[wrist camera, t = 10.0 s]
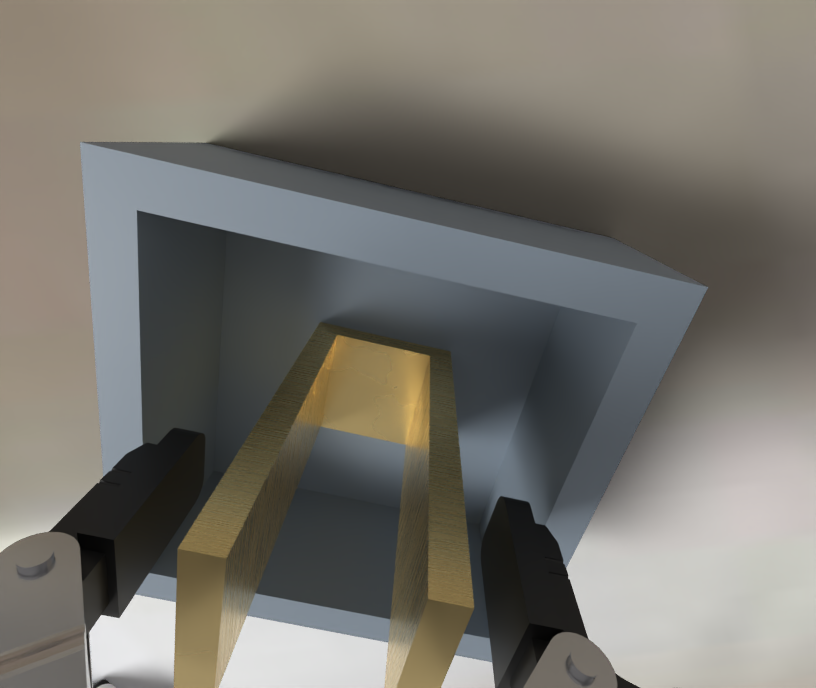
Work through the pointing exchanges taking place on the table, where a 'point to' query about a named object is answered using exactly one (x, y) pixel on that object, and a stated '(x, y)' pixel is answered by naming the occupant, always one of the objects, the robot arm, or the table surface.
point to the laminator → (103, 684)
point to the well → (373, 313)
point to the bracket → (277, 482)
